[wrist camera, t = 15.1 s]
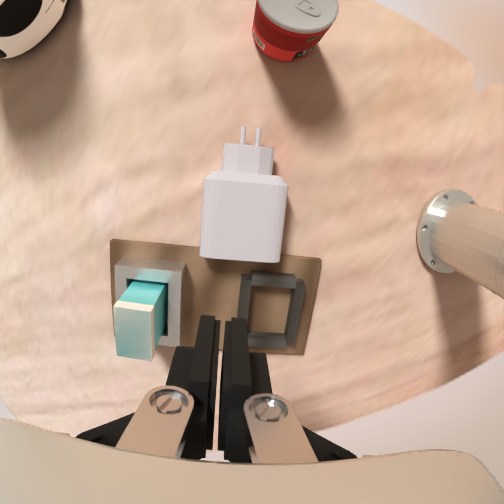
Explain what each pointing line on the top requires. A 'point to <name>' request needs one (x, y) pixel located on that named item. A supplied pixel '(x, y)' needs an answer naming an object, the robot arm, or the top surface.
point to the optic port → (157, 272)
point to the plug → (140, 319)
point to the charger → (244, 205)
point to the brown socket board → (238, 293)
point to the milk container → (27, 23)
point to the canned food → (291, 26)
